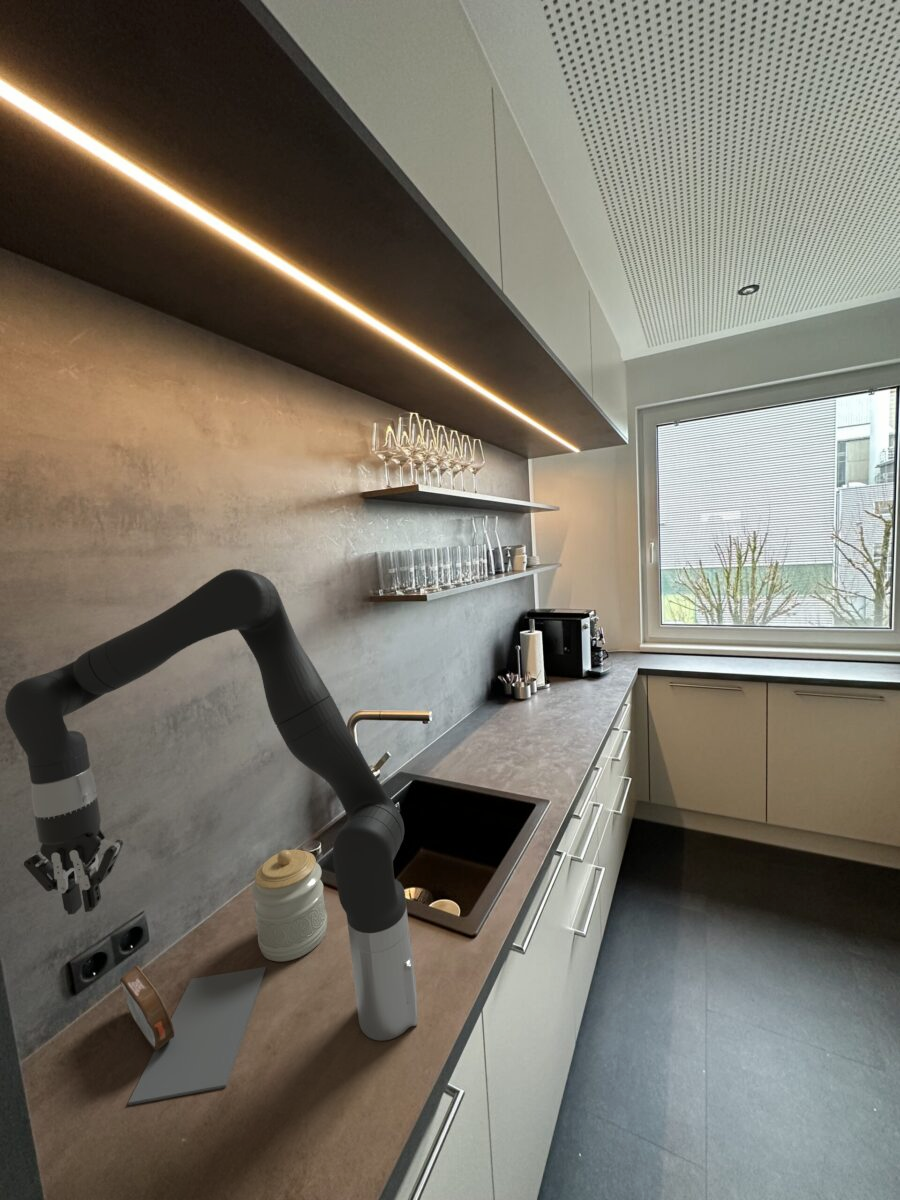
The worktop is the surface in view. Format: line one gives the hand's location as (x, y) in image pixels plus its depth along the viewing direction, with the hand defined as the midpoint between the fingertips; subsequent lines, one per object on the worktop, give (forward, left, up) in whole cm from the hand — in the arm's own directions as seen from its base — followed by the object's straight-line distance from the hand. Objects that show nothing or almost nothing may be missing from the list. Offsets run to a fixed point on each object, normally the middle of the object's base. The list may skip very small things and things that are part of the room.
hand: (83, 909), depth 75 cm
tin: (-7, 0, -22) cm, 23 cm away
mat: (-16, +1, -22) cm, 27 cm away
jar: (-26, -16, -22) cm, 38 cm away
